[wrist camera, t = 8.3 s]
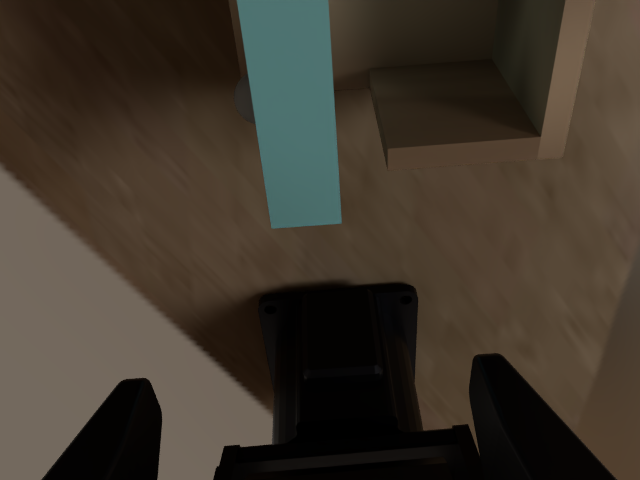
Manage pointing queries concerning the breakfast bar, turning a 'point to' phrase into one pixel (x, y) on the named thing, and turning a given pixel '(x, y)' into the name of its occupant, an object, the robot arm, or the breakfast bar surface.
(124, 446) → the robot arm
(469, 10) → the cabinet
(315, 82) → the white and teal holder
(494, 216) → the breakfast bar surface
